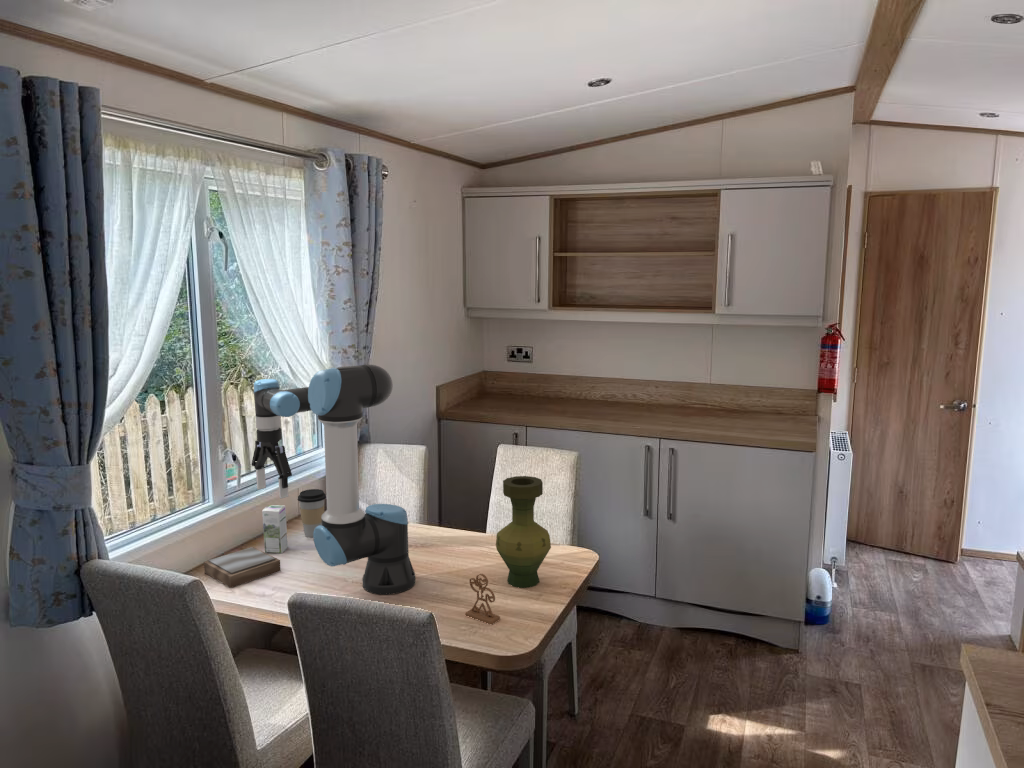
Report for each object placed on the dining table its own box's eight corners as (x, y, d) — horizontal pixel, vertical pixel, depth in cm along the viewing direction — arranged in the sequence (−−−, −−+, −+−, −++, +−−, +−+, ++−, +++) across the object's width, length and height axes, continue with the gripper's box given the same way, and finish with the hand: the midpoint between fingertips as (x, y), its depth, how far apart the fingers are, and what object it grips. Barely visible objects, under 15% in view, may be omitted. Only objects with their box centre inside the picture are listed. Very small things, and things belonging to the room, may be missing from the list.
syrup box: (288, 547, 249) (286, 504, 246) (281, 554, 243) (278, 510, 240) (271, 546, 249) (269, 504, 247) (264, 553, 243) (261, 510, 241)
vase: (488, 574, 225) (486, 477, 221) (538, 566, 231) (537, 471, 226) (507, 597, 210) (506, 493, 205) (560, 587, 216) (560, 486, 211)
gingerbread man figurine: (500, 619, 198) (500, 575, 196) (491, 625, 194) (490, 580, 192) (473, 610, 203) (473, 567, 201) (464, 615, 200) (463, 572, 198)
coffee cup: (299, 531, 263) (296, 489, 260) (327, 528, 265) (325, 487, 263) (300, 541, 254) (297, 498, 251) (329, 537, 256) (326, 495, 254)
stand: (280, 570, 229) (279, 558, 229) (230, 587, 218) (229, 574, 217) (253, 557, 240) (252, 545, 239) (204, 572, 228) (203, 560, 228)
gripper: (301, 432, 234) (304, 498, 237) (259, 420, 250) (263, 482, 254) (279, 436, 228) (283, 504, 232) (238, 424, 245) (242, 487, 249)
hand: (272, 493), depth 243 cm, fingers open, 13 cm apart
